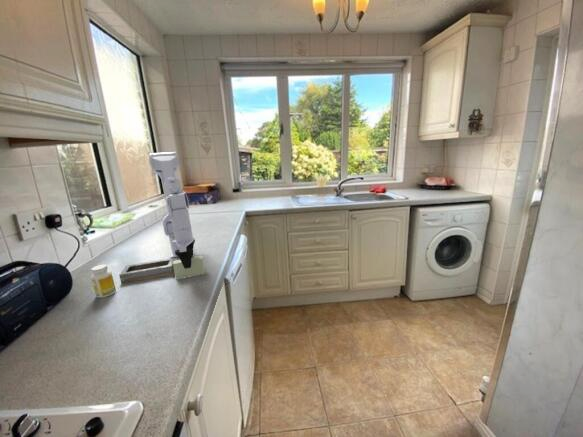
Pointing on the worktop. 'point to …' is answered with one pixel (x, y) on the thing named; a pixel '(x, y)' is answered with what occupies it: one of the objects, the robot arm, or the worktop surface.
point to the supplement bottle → (102, 281)
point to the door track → (147, 270)
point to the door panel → (195, 269)
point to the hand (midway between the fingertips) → (188, 263)
